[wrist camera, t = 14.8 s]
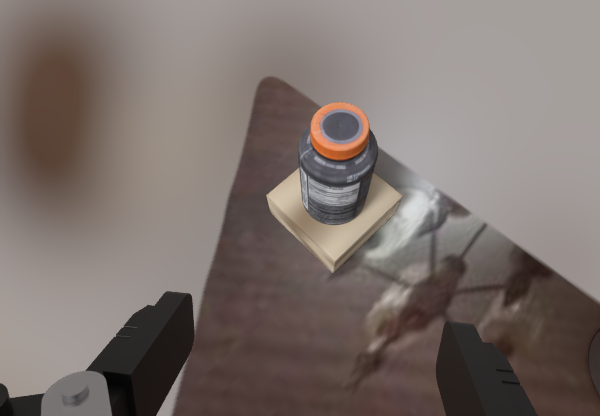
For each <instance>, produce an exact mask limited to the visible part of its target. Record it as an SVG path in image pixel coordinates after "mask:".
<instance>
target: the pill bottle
mask: <svg viewBox="0 0 600 416" xmlns="http://www.w3.org/2000/svg"><path fill="white" fill-rule="evenodd" d="M377 156H378V145H377V141H376V139H375V136H374V134H373V133H372V131H371V130H370V128H369V121H368V118H367V116H366V115H365V113H364V112H363V111H362V110H361V109H359V108H358V107H356V106H354V105H352V104H348V103H343V102H337V103H331V104H328V105H326V106H324V107H322V108H321V109H319V110H318V111H317V112H316V113H315V115H314V116H313V119H312V122H311V125H309V126H308V128H307V129H306V130H305V131H304V133H303V134H302V136H301V138H300V141H299V146H298V158H299V172H300V183H301V194H302V202H303V205H304V208H305V209H306V211H307V213H308V214H309V215H310V216H311V217H312V218H314V219H315V220H317V221H318V222H320V223H323V224H327V225H341V224H345V223H348V222H350V221H351V220H353V219H355V218H356V217H357V216H358V215H359V214H360V212H361V211H362V209H363V207H364V205H365V202H366V198H367V194H368V191H369V187H370V183H371V179H372V175H373V171H374V168H375V164H376V160H377Z"/></svg>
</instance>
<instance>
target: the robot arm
mask: <svg viewBox="0 0 600 416" xmlns="http://www.w3.org/2000/svg"><path fill="white" fill-rule="evenodd" d="M192 304H193V303H192V296H191V295H190V294H188V293H179V292H170V291H167V292H165V293H164V294H163V296H162V297H161V298H160V299H159V301H158V302H157V303H156V304H155V306H151V305H147V306H146V307H144V308H143V309H141V310H139V311H138V312H136V313H135V314H133V315H132V317H131V318H130V319H129V320H128V321H127V322H126V324H125V325H124V327H123V328H121V329H120V331H119V332H118V333H117V334H116V337H114V338H113V339H112V340H111V341H110V342H109V344H108V345H107V346H106V347H105V348H104V349H103V351H102V352H101V353H100V354H99V355H98V356H97V358H96V359H95V360H94V361H93V362H92V364H91V365H90V366H89V367H88V368H87V370H86V371H82V372H77V373H73V374H70V375H68V376H66V377H63V378H62V379H60V380H58V381H57V382H56V383H54V384H53V385H52V386H51V387H50V388H49V389H48V390H47V391H46V393H43V394H37V395H30V396H22V397H15V398H10V397H9V394H8V390H7V388H6V387H5V386H4V385H3V384H1V383H0V416H156V415H157V413H158V411H159V409H160V407H161V406H162V404H163V402H164V400H165V398H166V396H167V395H168V393H169V391H170V389H171V387H172V385H173V384H174V382H175V380H176V378H177V376H178V374H179V372H180V371H181V369H182V367H183V365H184V363H185V361H186V360H187V358H188V356H189V354H190V352H191V349H192V346H193V342H194V319H193V305H192ZM589 369H590V373H591V378H592V380H593V383H594V385H595V388H596V390H597V392H598V393H599V395H600V331H599V332H598V333H597V334H596V335H595V337H594V339H593V341H592V343H591V346H590V351H589ZM436 378H437V384H438V387H439V391H440V395H441V398H442V402H443V405H444V409H445V412H446V416H538V415H537V413H536V412H535V410H534V408H533V406H532V404H531V402H530V400H529V399H528V397H527V395H526V393H525V391H524V389H523V387H522V386H520V382H519V380H518V378H517V376H516V374H514V373H513V369H512V367H511V365H510V363H509V361H508V360H507V358H506V356H505V355H504V354H503V353H502V352H501V351H499V350H498V349H497V348H496V347H495V346H494V345H493V344H492V343H485V342H482V340H481V338H480V336H479V334H478V332H477V330H476V328H475V326H474V325H473V324H468V323H459V322H449V321H447V322H446V323H445V325H444V329H443V334H442V338H441V343H440V348H439V353H438V357H437V363H436Z"/></svg>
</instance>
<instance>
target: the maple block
mask: <svg viewBox="0 0 600 416" xmlns="http://www.w3.org/2000/svg"><path fill="white" fill-rule="evenodd" d="M402 197H403V196H402V195H401V194H399V193H398V192H397V191H396V190H395V189H393V188H392V187H391V186H390V185H388V184H387V183H386V182H385V181H384V180H382V179H381V178H380V177H379V176H378V175H376V174H375V173H374V172H373V175H372V179H371V183H370V187H369V191H368V194H367V198H366V202H365V205H364V207H363V209H362V211H361V212H360V214H359V215H358V216H357V217H356V218H355V219H353V220H351V221H350V222H348V223H345V224H341V225H327V224H323V223H320V222H318V221H317V220H315V219H314V218H312V217H311V216H310V215H309V214H308V213H307V211H306V209H305V208H304V205H303V202H302V194H301V183H300V172H299V168H298V169H297V170H296V171H295V172H294V173H292V174H291V175H290V176H289V177H288V178H287V179H285V180H284V181H283V182H282V183H281V184H279V185H278V186H277V187H276V188H275V189H273V190H272V191H271V192H270V193H269V194H268V195H267V199H268V203H269V207H270V212H271V213H272V214H273V215H274V216H275V217H276V218H277V219H278V220H279V221H280V222H281V223H282V224H283V225H284V226H285V227H286V228H287V229H288V230H289V231H290V232H291V233H292V234H293V235H294V236H295V237H296V238H297V239H298V240H299V241H300V242H301V243H302V244H303V245H304V246H305V247H306V248H307V249H308V250H309V251H311V252H312V253H313V254H314V255H315V256H316V257H317V258H318V259H319V260H320V261H321V262H322V263H323V264H324V265H325V266H326V267H327V268H328V269H329V270H330V271H331V272H332V273H334V272H335V271H336V270H337V269H338V268H339V267H340V266H341V265H342V264H343V263H344V262H345V261H347V260H348V259H349V258H350V257H351V256H352V255H353V254H354V253H355V252H356V251H357V250H358V249H359V248H360V247H361V246H362V245H363V244H364V243H365V242H366V241H367V240H368V239H369V238H370V237H371V236H372V235H373V234H374V233H375V232H376V231H377V230H378V229H379V228H380V227H381V226H382V225H383V224H384V223H386V222H387V221H388V220H389V219H390V218H391V217H392V216H393V215H394V214H395V212H396V210H397V207H398V205H399V203H400V201H401V199H402Z"/></svg>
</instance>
